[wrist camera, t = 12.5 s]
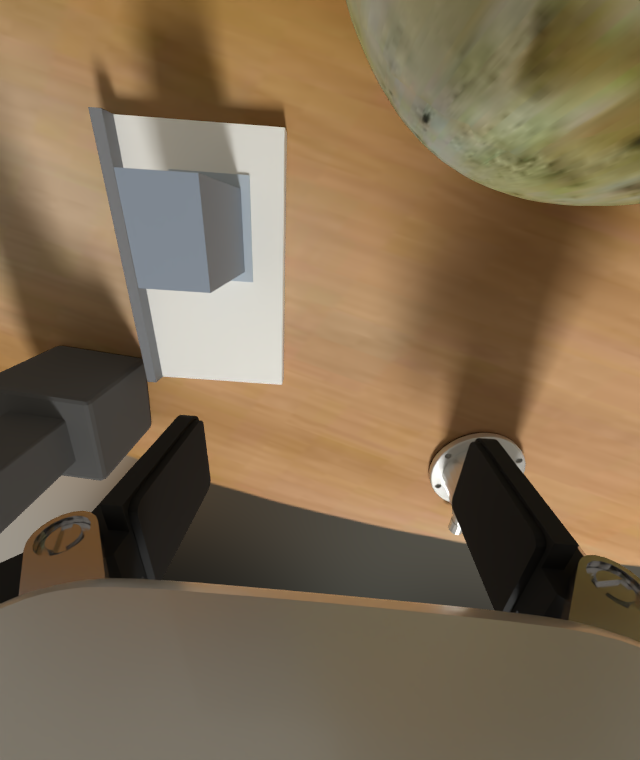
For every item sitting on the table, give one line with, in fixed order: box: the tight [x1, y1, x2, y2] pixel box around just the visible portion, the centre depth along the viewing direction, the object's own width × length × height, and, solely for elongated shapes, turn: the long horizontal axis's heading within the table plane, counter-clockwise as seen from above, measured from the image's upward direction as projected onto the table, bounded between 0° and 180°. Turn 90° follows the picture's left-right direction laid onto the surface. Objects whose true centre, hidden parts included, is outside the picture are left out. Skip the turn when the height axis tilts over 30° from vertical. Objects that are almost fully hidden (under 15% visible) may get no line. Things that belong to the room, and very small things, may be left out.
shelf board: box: [88, 107, 287, 385], centre depth 31 cm, size 24×15×3 cm, turn 176°
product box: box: [114, 167, 245, 293], centre depth 24 cm, size 5×7×10 cm
